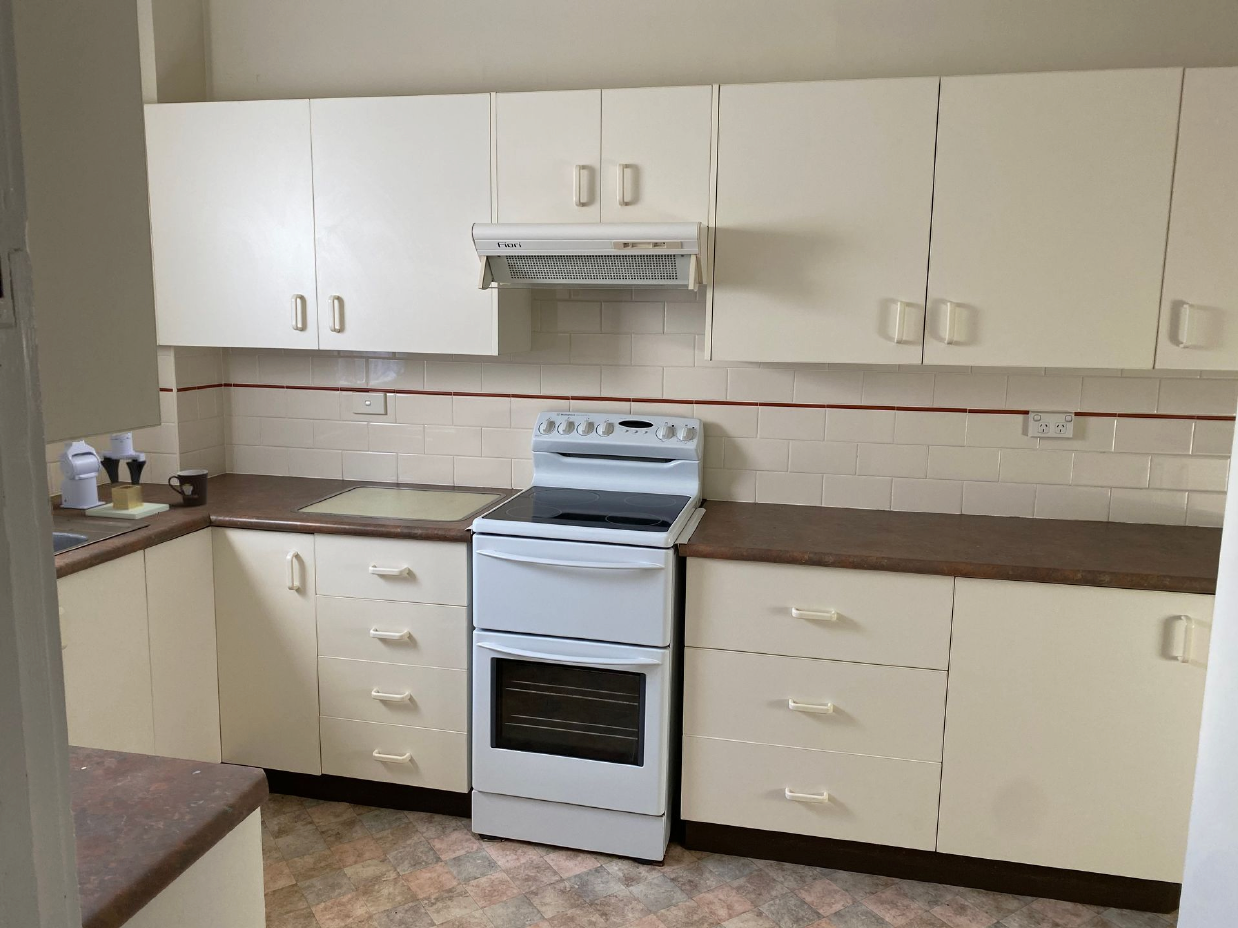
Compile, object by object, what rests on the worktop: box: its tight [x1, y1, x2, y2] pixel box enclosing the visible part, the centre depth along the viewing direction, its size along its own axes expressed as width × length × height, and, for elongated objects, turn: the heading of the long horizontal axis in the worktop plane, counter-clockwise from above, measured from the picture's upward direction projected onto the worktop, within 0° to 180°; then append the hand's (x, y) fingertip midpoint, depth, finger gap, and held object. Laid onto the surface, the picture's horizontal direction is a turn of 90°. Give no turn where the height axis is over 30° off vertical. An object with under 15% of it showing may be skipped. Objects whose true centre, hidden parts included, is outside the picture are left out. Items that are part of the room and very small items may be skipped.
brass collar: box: [111, 484, 144, 510], centre depth 279 cm, size 6×6×6 cm
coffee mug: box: [167, 469, 209, 508], centre depth 290 cm, size 12×9×10 cm
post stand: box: [84, 502, 170, 520], centre depth 279 cm, size 18×13×6 cm
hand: (125, 483), depth 278 cm, fingers open, 7 cm apart
